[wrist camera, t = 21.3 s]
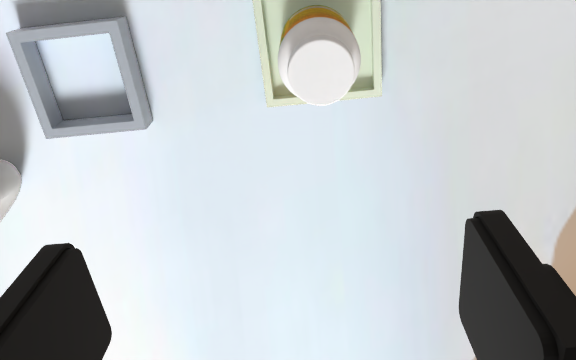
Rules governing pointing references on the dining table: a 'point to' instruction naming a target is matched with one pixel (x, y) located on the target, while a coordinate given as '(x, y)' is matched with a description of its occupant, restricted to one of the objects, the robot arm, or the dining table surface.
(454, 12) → the dining table surface
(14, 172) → the donut
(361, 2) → the tray
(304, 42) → the supplement bottle
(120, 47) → the grey square frame
